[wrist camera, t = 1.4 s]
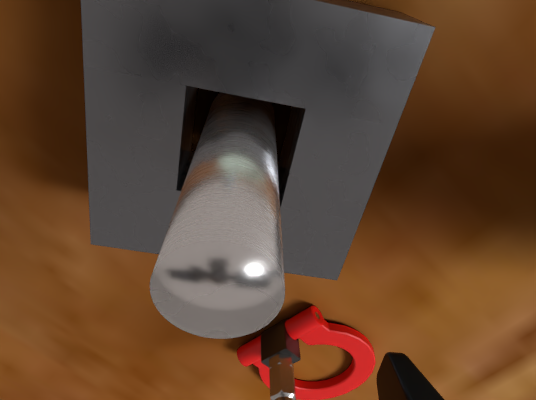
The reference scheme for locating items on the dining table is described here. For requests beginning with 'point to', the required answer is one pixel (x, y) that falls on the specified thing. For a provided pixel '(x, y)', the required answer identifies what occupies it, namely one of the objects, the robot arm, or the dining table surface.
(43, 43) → the dining table surface
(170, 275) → the pin
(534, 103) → the dining table surface
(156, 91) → the hitch block
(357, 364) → the tow hook
